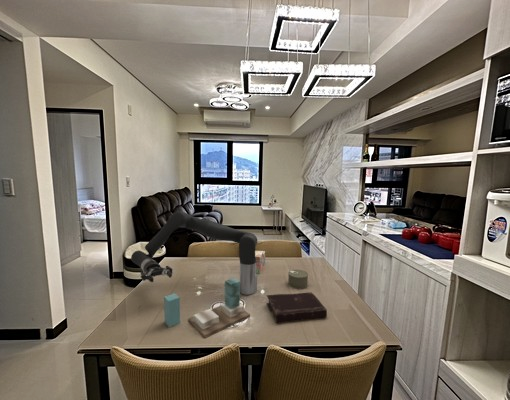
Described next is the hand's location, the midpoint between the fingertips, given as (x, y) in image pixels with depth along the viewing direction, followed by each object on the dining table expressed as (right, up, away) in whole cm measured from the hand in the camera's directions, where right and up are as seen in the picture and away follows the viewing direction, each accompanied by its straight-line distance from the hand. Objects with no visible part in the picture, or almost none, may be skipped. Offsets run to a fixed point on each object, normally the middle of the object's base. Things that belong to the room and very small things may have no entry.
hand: (161, 277), depth 118 cm
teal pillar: (+7, -18, -7) cm, 20 cm away
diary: (+64, -18, +6) cm, 67 cm away
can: (+71, -15, +35) cm, 80 cm away
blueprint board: (+28, -18, -3) cm, 33 cm away
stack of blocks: (+47, -12, +59) cm, 76 cm away
